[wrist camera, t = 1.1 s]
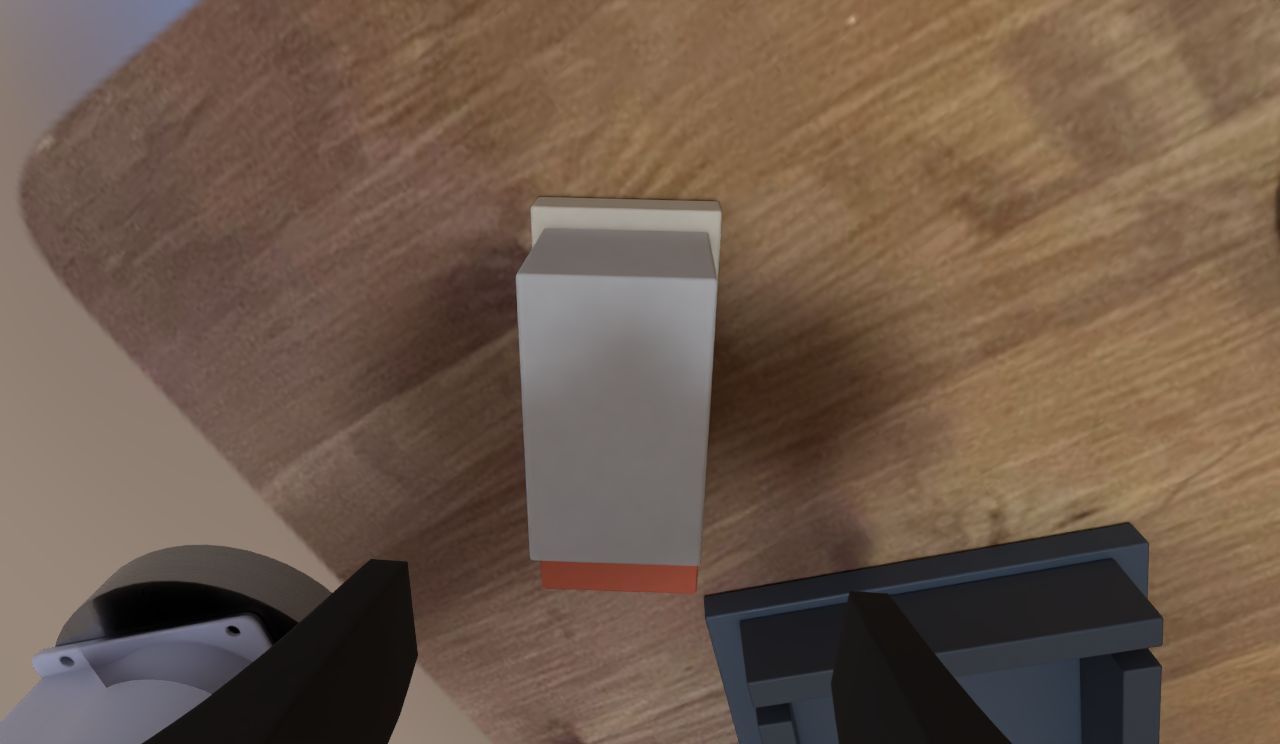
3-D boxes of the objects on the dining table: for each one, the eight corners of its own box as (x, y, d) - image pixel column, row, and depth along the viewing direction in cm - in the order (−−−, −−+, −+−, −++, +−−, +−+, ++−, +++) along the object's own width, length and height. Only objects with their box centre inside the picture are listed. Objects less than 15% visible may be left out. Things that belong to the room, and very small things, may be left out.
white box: (699, 528, 23) (707, 650, 19) (549, 523, 24) (521, 643, 19) (719, 200, 19) (735, 254, 15) (537, 196, 19) (498, 248, 15)
